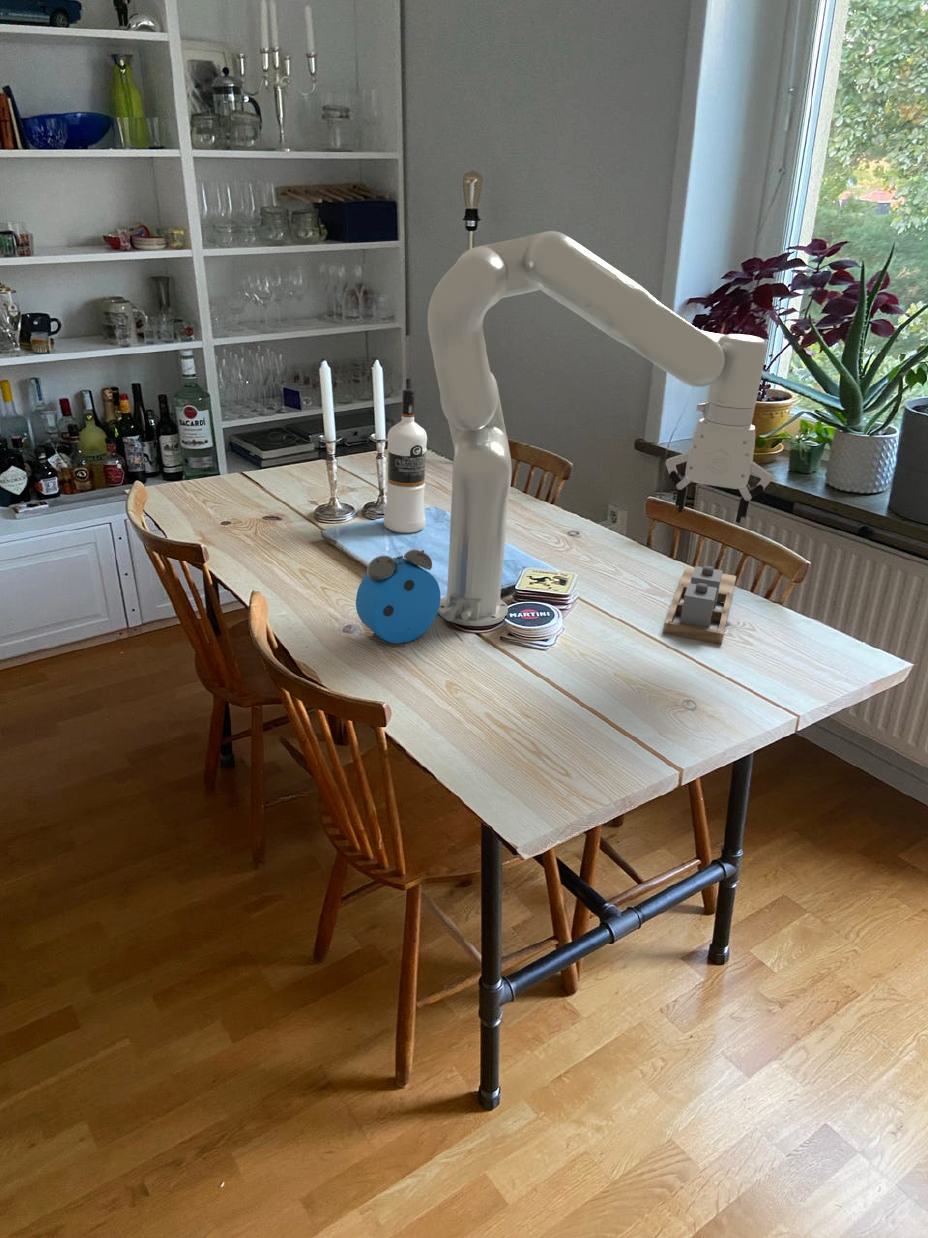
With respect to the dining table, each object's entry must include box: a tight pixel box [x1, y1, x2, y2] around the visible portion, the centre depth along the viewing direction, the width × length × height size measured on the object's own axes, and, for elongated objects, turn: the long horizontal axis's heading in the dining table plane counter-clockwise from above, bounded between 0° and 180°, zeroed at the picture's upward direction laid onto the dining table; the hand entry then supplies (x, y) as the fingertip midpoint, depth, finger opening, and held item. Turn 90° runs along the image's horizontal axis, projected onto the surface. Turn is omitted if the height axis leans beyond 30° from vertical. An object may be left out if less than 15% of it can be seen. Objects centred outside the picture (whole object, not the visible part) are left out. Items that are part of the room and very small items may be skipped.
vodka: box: [383, 388, 428, 534], centre depth 193 cm, size 9×9×30 cm
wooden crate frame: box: [662, 566, 737, 645], centre depth 169 cm, size 28×10×3 cm, turn 160°
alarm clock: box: [355, 549, 442, 644], centre depth 148 cm, size 13×6×15 cm, turn 125°
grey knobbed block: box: [691, 565, 724, 609], centre depth 168 cm, size 6×5×8 cm
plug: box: [679, 583, 717, 629], centre depth 160 cm, size 6×5×8 cm
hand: (709, 515), depth 154 cm, fingers open, 9 cm apart
